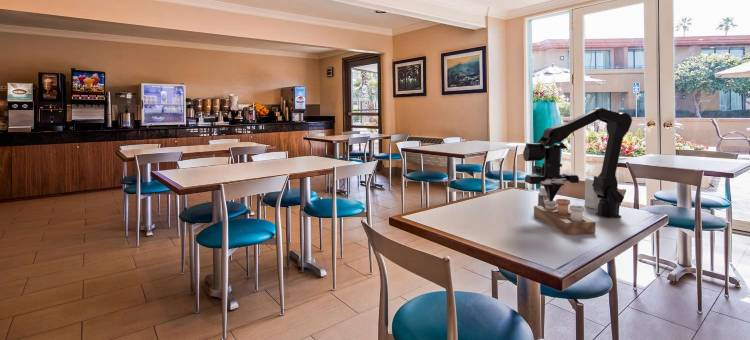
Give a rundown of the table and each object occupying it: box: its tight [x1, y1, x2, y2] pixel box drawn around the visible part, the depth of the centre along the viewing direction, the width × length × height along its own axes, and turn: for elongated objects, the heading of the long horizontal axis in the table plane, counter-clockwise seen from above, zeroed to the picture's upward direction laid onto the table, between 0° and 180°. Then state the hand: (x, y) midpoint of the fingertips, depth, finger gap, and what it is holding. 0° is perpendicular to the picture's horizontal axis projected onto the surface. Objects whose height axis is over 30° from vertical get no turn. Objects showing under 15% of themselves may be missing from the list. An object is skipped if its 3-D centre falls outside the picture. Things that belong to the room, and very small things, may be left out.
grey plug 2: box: [568, 204, 586, 222], centre depth 141 cm, size 5×5×6 cm
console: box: [533, 205, 597, 235], centre depth 151 cm, size 10×25×4 cm, turn 3°
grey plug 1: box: [544, 199, 557, 209], centre depth 160 cm, size 5×5×6 cm
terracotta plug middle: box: [556, 198, 571, 215], centre depth 150 cm, size 5×5×6 cm
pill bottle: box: [537, 185, 549, 206], centre depth 170 cm, size 6×6×10 cm
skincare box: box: [584, 177, 600, 210], centre depth 174 cm, size 6×4×12 cm
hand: (550, 200), depth 159 cm, fingers closed, pressing on grey plug 1
